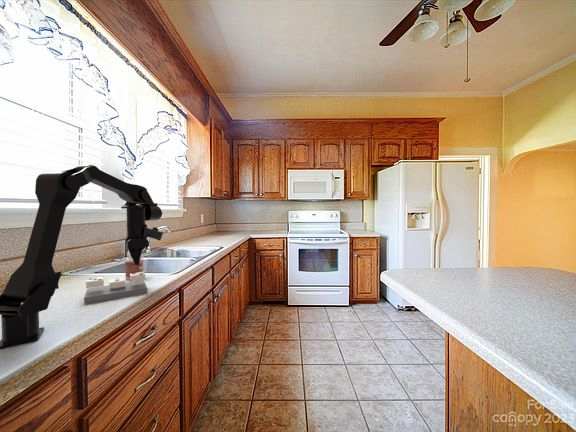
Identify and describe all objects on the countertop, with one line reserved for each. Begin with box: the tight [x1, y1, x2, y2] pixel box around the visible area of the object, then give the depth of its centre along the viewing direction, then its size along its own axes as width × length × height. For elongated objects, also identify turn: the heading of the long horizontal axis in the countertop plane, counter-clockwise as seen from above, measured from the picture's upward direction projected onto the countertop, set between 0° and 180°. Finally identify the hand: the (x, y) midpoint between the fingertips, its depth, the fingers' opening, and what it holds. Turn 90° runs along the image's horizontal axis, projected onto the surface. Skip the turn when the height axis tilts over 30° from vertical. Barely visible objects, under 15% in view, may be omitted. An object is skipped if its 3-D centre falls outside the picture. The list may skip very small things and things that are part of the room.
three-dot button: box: [85, 276, 105, 289], centre depth 82 cm, size 4×4×2 cm
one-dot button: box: [108, 277, 126, 289], centre depth 85 cm, size 4×4×2 cm
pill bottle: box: [124, 251, 143, 280], centre depth 105 cm, size 6×6×11 cm
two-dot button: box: [129, 271, 146, 282], centre depth 89 cm, size 4×4×2 cm
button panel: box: [83, 280, 148, 305], centre depth 85 cm, size 11×17×2 cm, turn 125°
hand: (137, 264), depth 89 cm, fingers closed
